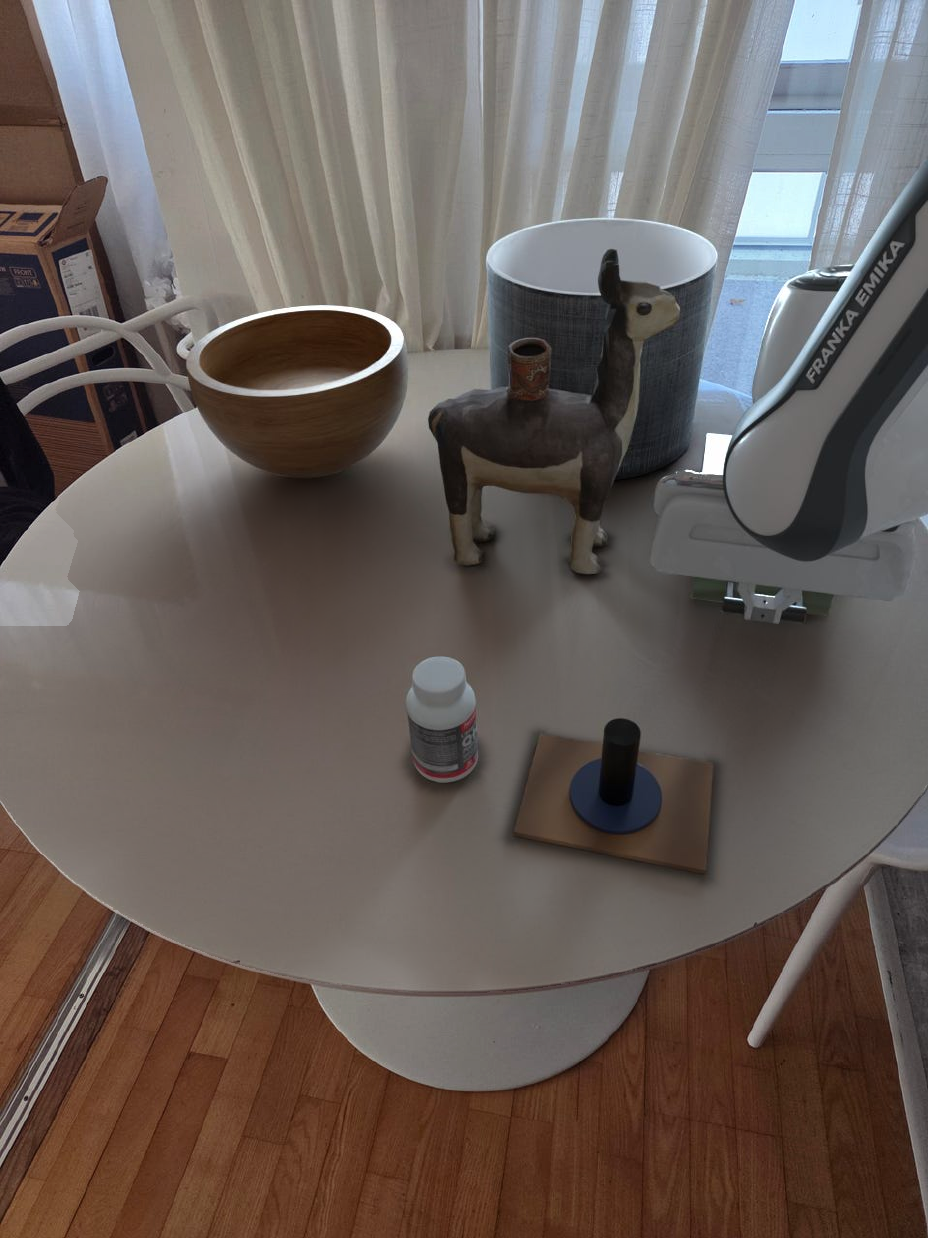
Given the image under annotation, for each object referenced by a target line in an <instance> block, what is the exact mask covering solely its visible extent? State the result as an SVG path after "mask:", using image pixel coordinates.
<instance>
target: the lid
mask: <svg viewBox="0 0 928 1238" xmlns="http://www.w3.org/2000/svg"><path fill="white" fill-rule="evenodd" d="M602 736H603V737H602V744H603V747H602V758H600V759H596V760H593V761H591V762H589V763H587V764H585V765H584V766H582V767H581V768H580V769H579V770H578V771H577V772H576V773H575V775H574V776H573V779H572V781H571V784H570V802H571V805H572V807H573V809H574V811H575V812H576V814H577V815H578V816H579V818H580V819H581V820H582V821H584V822H585V823H586V824H587V825H589V826H591V827H592V828H594V829H596V830H599V831H601V832H605V833H609V834H618V835H623V834H631V833H635V832H638V831H640V830H642V829H644V828H646V827H647V826H649V825H650V824H651V823H652V822H653V821H654V820H655V819H656V818H657V816H658V814H659V812H660V809H661V805H662V791H661V788H660V785H659V783H658V781H657V780H656V778H655V777H654V776H653V775H652V773H651V772H649V771H648V770H647V769H646V768H644V767H643V766H641V765H640V764H638V763H637V760H638V752H639V750H640V744H641V738H642V737H641V736H642V731H641V728H640V727H639V725H638V724H637V723H636V722H634V721H633V720H631V719H628V718H623V717H618V718H613V719H611V720H609V721H608V722H607V723H606V724H605V726H604V728H603V735H602Z"/></svg>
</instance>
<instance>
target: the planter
mask: <svg viewBox="0 0 928 1238" xmlns="http://www.w3.org/2000/svg"><path fill="white" fill-rule="evenodd" d="M609 249H614V250H617V253H618V259H619V273H620V279H621V280H625V281H637V282H647V283H649V284H653V285H656V286H659V287H660V288H661V289H663V290H665V291H667V292H669V293H671V294H672V295H673V296H674V297H675V300H676V303H677V304H678V305H679V307H680V315H679V319H678V322H677V324H676V325H673V326H671V327H669V328H667V329H665V330H663V331H661V332H659V333H657V334H655V335H653V336H651V337H649V338H647V339H645V340H644V342H643V345H642V354H641V357H640V384H639V403H638V410H637V414H636V419H635V423H634V426H633V430H632V434H631V439H630V442H629V445H628V448H627V451H626V453H625V455H624V457H623V460H622V462H621V465H620V467H619V470H618V472H617V475H616V477H615V479H614V481H617V480H625V479H630V478H634V477H639V476H643V475H647V474H650V473H653V472H655V471H657V470H660V469H662V468H664V467H666V466H667V465H669V464H671V463H673V462H674V461H676V460H677V459H678V458H680V456H681V455H683V453H684V452H685V451H686V450H687V448H688V447H689V445H690V443H691V440H692V435H693V425H694V418H695V410H696V404H697V400H698V399H697V398H698V393H699V387H700V380H701V375H702V374H701V373H702V367H703V361H704V354H705V347H706V340H707V334H708V327H709V321H710V315H711V307H712V301H713V295H714V288H715V280H716V274H717V267H718V259H719V254H718V253H719V252H718V250H717V248H716V247H715V246H714V244H713V243H712V242H710V240H708V239H707V238H705V236H702V235H701V234H698V233H697V232H694V231H692V230H688V229H686V228H684V227H680V226H677V225H672V224H668V223H663V222H658V221H652V220H645V219H637V218H636V219H635V218H624V217H623V218H621V217H619V218H618V217H589V218H575V219H574V218H573V219H565V220H557V221H551V222H545V223H540V224H536V225H533V226H528V227H526V228H523V229H519V230H517V231H514V232H512V233H509V234H507V235H504V236H503V237H502V238H500V239H498V240H497V241H496V242H494V243H493V244H492V245H491V247H490V248H489V249H488V250H487V253H486V256H485V264H486V267H485V269H486V295H487V316H488V317H487V318H488V319H487V321H488V325H487V326H488V348H489V349H488V350H489V372H490V373H489V375H490V376H489V377H490V390H492V389H495V388H499V387H508V384H509V367H508V346H509V345H510V344H511V343H512V342H514V341H517V340H519V339H524V338H539V339H543V340H545V341H546V342H547V343H548V344H549V345H550V347H551V349H552V350H551V368H550V379H549V386H548V388H550V389H556V390H562V391H567V392H572V393H579V394H587V395H593V393H594V389H595V384H596V379H597V368H598V366H599V364H600V361H601V354H602V345H603V340H604V331H605V326H606V309H607V303H606V302H605V301H604V299H603V298H602V296H601V294H600V291H599V287H598V275H599V271H600V266H601V261H602V258H603V256H604V254H605V253H606V251H607V250H609Z"/></svg>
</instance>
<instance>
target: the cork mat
mask: <svg viewBox="0 0 928 1238" xmlns="http://www.w3.org/2000/svg"><path fill="white" fill-rule="evenodd" d="M602 747H603V743H598V742H593V741H587V740H582V739H575V738H569V737H563V736H557V735H551V734H546V733H539V736H538V740H537V742H536V747H535V751H534V754H533V758H532V762H531V765H530V769H529V772H528V777H527V780H526V783H525V788H524V791H523V795H522V799H521V802H520V806H519V810H518V813H517V817H516V821H515V825H514V829H513V836H515V837H519V838H523V839H527V840H528V839H529V840H533V841H539V842H543V843H549V844H553V845H558V846H563V847H569V848H574V849H578V850H584V851H589V852H593V853H599V854H603V855H608V856H613V857H618V858H623V859H628V860H634V861H637V862H643V863H647V864H653V865H658V866H662V867H667V868H673V869H678V870H684V871H688V872H693V873H697V874H703V875H706V872H707V864H708V852H709V851H708V850H709V835H710V822H711V808H712V793H713V780H714V779H713V778H714V777H713V776H714V767H715V766H714V762H709V761H703V760H697V759H691V758H686V757H685V758H684V757H680V756H674V755H668V754H663V753H657V752H652V751H651V752H650V751H645V750H640V749H639V752H638V760H637V763H638V764H640V765H641V766H643V767H644V768H646V769H647V770H648V771H649V772H651V773H652V775H653V776H654V777H655V778H656V780H657V781H658V783H659V785H660V788H661V791H662V805H661V809H660V812H659V814H658V816H657V818H656V819H655V820H654V821H653V822H652V823H651V824H650V825H649V826H647V827H646V828H644V829H642V830H640V831H638V832H635V833H631V834H623V835H618V834H609V833H605V832H601V831H599V830H596V829H594V828H592V827H591V826H589V825H587V824H586V823H585V822H584V821H582V820H581V819H580V818H579V816H578V815H577V814H576V812H575V811H574V809H573V807H572V805H571V802H570V784H571V781H572V779H573V776H574V775H575V773H576V772H577V771H578V770H579V769H580V768H581V767H582V766H584V765H585V764H587V763H589V762H591V761H593V760H596V759H600V758H602Z"/></svg>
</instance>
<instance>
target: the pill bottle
mask: <svg viewBox="0 0 928 1238" xmlns="http://www.w3.org/2000/svg"><path fill="white" fill-rule="evenodd" d="M466 675H467V674H466V670H465V668H464V666H463V665H462V663H461V662H459V661H458V660H456V659H454V658H452V657H448V656H433V657H428V658H425V659H424V660H422V661H421V662H419V663H418V664H417V665H416V666H415V667H414V669H413V671H412V678H411V679H412V680H411V681H412V686H411V687H410V688H409V691H408V693H407V696H406V699H405V709H406V716H407V722H408V728H409V729H408V730H409V738H410V747H411V753H412V761H413V764H414V765H413V766H414V767H415V769H416V770H417V771H418V773H419V774H420V775H421V776H422V777H424V778H425V779H427V780H429V781H432V782H436V783H440V784H441V783H444V784H446V783H452V782H456V781H460V780H461V779H464V778H465V777H467V776H468V775H469V774H471V773H472V771H473V770H474V769H475V767H476V766H477V763H478V760H479V740H478V722H477V701H476V696H475V695H476V694H475V692H474V690H473V688H472V687H471V685H470V684H469V683H468V682H467V677H466Z"/></svg>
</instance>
